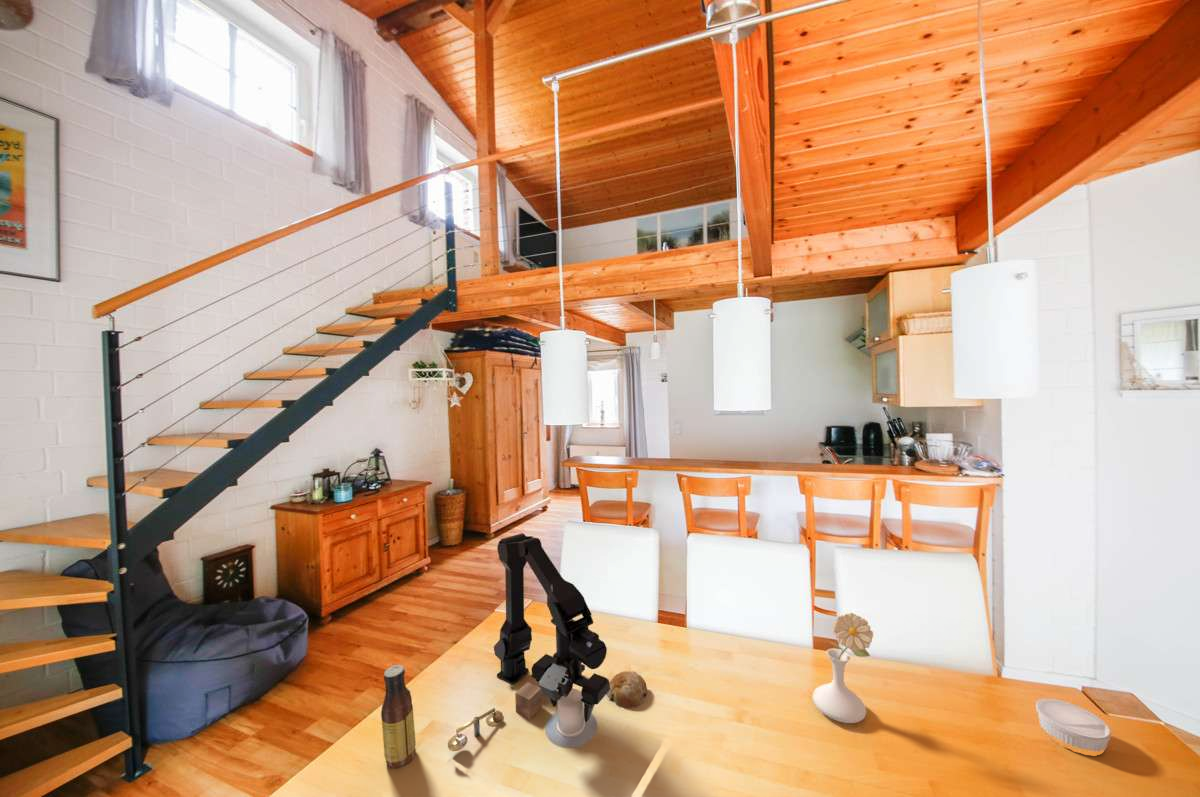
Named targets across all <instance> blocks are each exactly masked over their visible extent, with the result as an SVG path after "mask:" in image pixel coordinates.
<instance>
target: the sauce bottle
mask: <svg viewBox="0 0 1200 797" xmlns="http://www.w3.org/2000/svg"><path fill="white" fill-rule="evenodd" d="M405 674H406V670H405V666H404V665H402V664H395V665H392V666H390V667H388V668H387V669H386V670H385V671H384V674H383V680H384V683H385V684H384V685H385V695H384V700H383V703H382V706H381V713H380V718H381V727H382V741H383V754H384V759H385V763H386V765H387V766H388V767H390V766H391V767H390V768H393V767H398V768H400V767H401V766H404V765H406V764H408V763H409V762H410V761H411V760H412V759H413V758H414V756H415V755H416V745H417V743H416V732H415V731H416V729H415V720H414V718H415V717H414V706H413V701H412V700H413V699H412V694H411V691H410V690H409V688H407V686H406V684H405Z"/></svg>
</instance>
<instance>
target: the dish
mask: <svg viewBox="0 0 1200 797" xmlns="http://www.w3.org/2000/svg"><path fill="white" fill-rule="evenodd" d="M584 721H585V718H584ZM557 723H558V710H557V711H555V712H554V713H553V714H552V715H551V716H549V718H548V719H547V721H546V724H545V727H544V730H545V735H546V737H547V739H548V741H550V743H552V744H553V745H554V746H557V747H559V748H560V747H561V748H563V749H564V748H565V749H573V748H577V747H581V746H583V745H585V744H587V743H588V742H590V741H591V740H592V738H593V737H594V736H595V734H596V733H597V729H598V728H597V727H598V724H597V720H596V717H595V716H594V715H593V713H591V715H590V718H589V720H588V721H587V722H585V728H584V730H583V732H582V733H581V734H579V735H578V736H575V737H565V736H562V735H561V734H560V733H559V732H558V729H557Z"/></svg>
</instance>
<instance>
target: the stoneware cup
mask: <svg viewBox="0 0 1200 797" xmlns="http://www.w3.org/2000/svg"><path fill="white" fill-rule="evenodd" d="M582 698H583V697H582V696H581V691H580V690H579V689H577V688H572V690H571V691H570V693H569V695H568V696H567V697H565V696H562V697H561V698H560V699H559V700H558V701H557V711H558V723H557V729H558V732H559V733H560V734H561V735H562V736H565V737H575V736H578V735H579V734H581V733H582V732H583V730H584V728H585V721H584V703H583V702H582V701H581V699H582Z"/></svg>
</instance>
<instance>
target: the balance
mask: <svg viewBox="0 0 1200 797" xmlns="http://www.w3.org/2000/svg"><path fill="white" fill-rule="evenodd" d="M484 718H486V719H485V724H486V725H487V726H489V727H496V726H498V725H500V724H501V723H502V722H503V721H504V714H503V712H502V711H500V710H498V709H497V710H496V708H495V707H494V708H491V709H490V710H488V711H486V712H484V713H483V714H481V715H479V716H475V717H474V718H473V720H471V721H469V722H467V723H465V724H464V725H462V726H461V727H459V728H457V729H456V735H453V736H452V737H451V738H450V739H448V741H447V742H448V743H447V749H448V750H449V751H452V752H457V751H460V750H462V749H464V747H466V746H467V744H468V737H467V736H466V734H464V733H463V734H462V733H461V732H462V731H464V730H466V729H467V728H469V727H470V726H472V725H473V732H474V736H473V737H474V738H479V737H480V736H481V732H480V731H481V730H480V724H481V723H480V721H481V720H482V719H484Z"/></svg>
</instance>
